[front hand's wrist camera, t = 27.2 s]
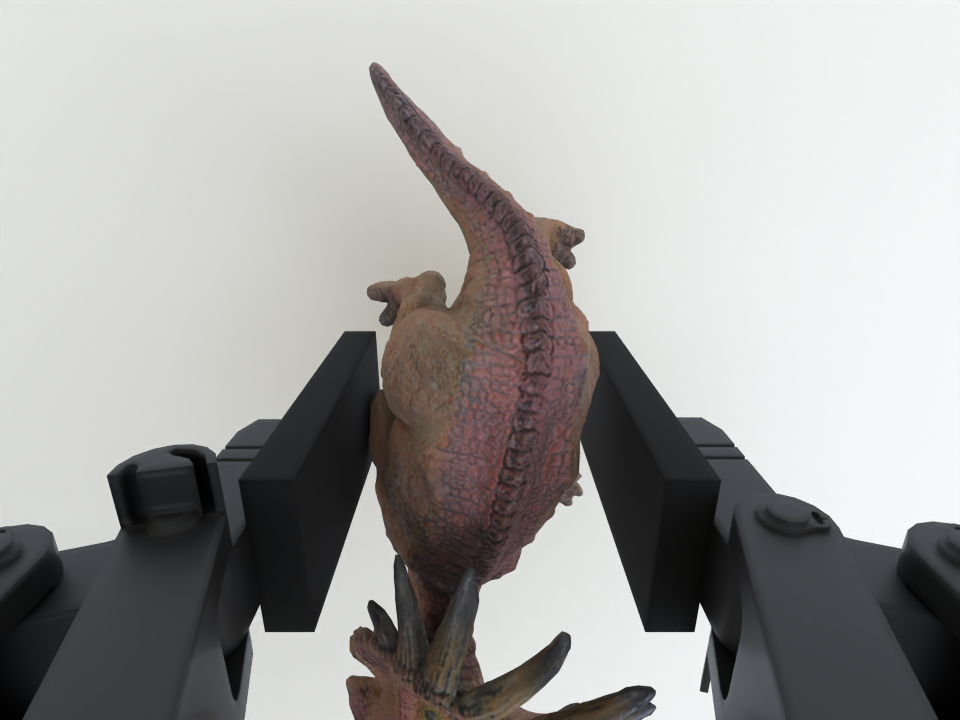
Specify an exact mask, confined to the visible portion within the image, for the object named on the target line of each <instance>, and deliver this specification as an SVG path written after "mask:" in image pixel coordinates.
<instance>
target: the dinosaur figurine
mask: <svg viewBox="0 0 960 720" xmlns="http://www.w3.org/2000/svg"><path fill="white" fill-rule="evenodd" d="M369 70H370V76H371V80H372V83H373V85H374V88H375V90H376V93H377V95H378V97H379V100H380V102H381V105H382V107H383V110H384V112H385V114H386V116H387V119H388V120H389V122H390V123H391V124H392V126H393V128H394V129H395V131H396V132H397V134H398V136H399V137H400V139H401V140H402V142H403V143H404V145H405V146H406V148H407V150H408V152H409V154H410V156H411V157H412V159H413V160H414V161H415V163H416V166H417V167H419V168H420V170H421V171H422V172H423V174H424V175H425V176H426V178H427V179H428V180H429V181H430V182H431V184H432V185H433V187H434V188H435V190H436V192H437V194H438V195H439V197H440V199H441V200H442V201H443V203H444V204H445V206H446V207H447V209H448V210H449V212H450V214H451V215H452V216H453V218H454V219H455V220H456V222H457V223H458V224H459V226H460V228H461V230H462V233H463V235H464V237H465V240H466V243H467V246H468V250H469V254H470V257H469V262H468V268H467V273H466V275H465V280H464V283H463V285H462V288H461V292H460V294H459V295H458V297H457V298H456V300H455V302H454V303H453V305H452V306H451V307H450V308H447V307H446V305H445V302H446V293H445V287H446V284H445V280H444V278H443V277H442V276H441V275H440V274H439V273H438V272H435V271H427V272H424V273H422V274H420V275H419V276H417V277H415V278H410V277H406V278H402V279H400V280H398V281H384V282H379V283H375V284H373V285H371V286H369V287H368V289H367V295H368V297H369V298H370V299H371V300H375V301H380V302H387V303H388V305H387V307H386V308H385V309H384V311H383V312H382V313H381V315H380V317H379V322H380V323H381V325H383V326H387V327H388V326H391V325H393V327H392V331H391V335H390V339H389V341H388V342H387V344H386V347H385V351H384V355H383V358H382V363H381V364H382V367H381V377H382V378H383V389H381V390H379V391H378V392H377V394H376V396H375V397H374V399H373V401H372V402H371V405H370V433H369V453H370V457H371V460H372V461H373V463H374V465H375V466H376V468H377V478H376V484H375V491H376V495H377V498H378V502H379V504H380V507H381V510H382V516H383V520H384V525H385V528H386V535H387V537H388V538H389V540H390V541H391V543H392V545H393V549H394V550H395V551H396V552H397V553H398V554H399V555H395V561H394V584H395V602H396V612H397V620H398V631H397V629H396V628H395V626H394V624H393V622H392V620H391V618H390V617H389V615H388V614H387V613H386V611H385V610H384V609H383V608H382V607H381V606H380V605H378V604H377V603H376V602H375V601H373V600H370V601H369V603H368V606H367V608H368V612H369V615H370V618H371V620H372V623H373V626H374V632H373V631H371V630H370V629H368V628H367V627H363V628H362V627H361V626H360V627H359V628H358V629H356V630H355V631H354V632H353V633H354V635H352V636H351V637H350V652H351V654H352V655H353V657H354V658H355V659H357V660H358V661H359V662H361V663H362V664H363V665H365V666H366V667H367V668H368V669H369V670H370V671H371V672H372V673H373V675H374V676H375V678H374V677H367V676H354V675H352V676H350V677H349V678H348V679H347V680H346V686H347V690H348V694H349V705H350V708H351V711H352V713H353V716H354V719H355V720H642V719H643V718H645V717H647V716H650V715H651V714H652V713H653V712H654V710H655V709H656V706H655V705H654V704H652V703H650V701H651V700H652V699H653V698H654V696H655V694H656V691H655V690H654V689H653V688H652V687H649V686H639V685H638V686H631V687H626V688H624V689H622V690H620V691H618V692H615V693H612V694H608V695H605V696H602V697H599V698H597V699H594V700H591V701H587V702H583V703H580V704H579V703H573V704H569V705H567V706H565V707H564V708H562V709H561V710H559V711H557V712H552V713H548V714H540V713H534V712H530V711H527V710H525V709H523V708H521V707H520V706H521V705H523V704H524V703H526V702H527V701H528V700H529V699H530V698H532V697H533V696H534V695H535V694H536V693H537V692H538V691H540V690H541V689H542V688H543V687H544V686H545V685H546V684H547V683H548V682H549V681H550V680H551V679H552V678H553V677H554V676H555V675H556V674H557V673H558V672H559V670H560V668H561V666H562V664H563V662H564V660H565V658H566V656H567V654H568V652H569V650H570V648H571V636H570V635H569V634H568V633H566V632H563V631H562V632H561V633H560V634H558V635H557V636H556V637H555V638H554V640H553V641H552V642H551V643H550V644H549V645H548V646H546V647H545V648H544V649H543V650H541V651H540V652H539V653H538V654H536V655H535V656H533V657H532V658H531V659H529V660H528V661H526V662H525V663H523V664H522V665H520V666H519V667H517V668H515V669H513V670H512V671H510V672H508V673H506V674H504V675H502V676H500V677H498V678H496V679H494V680H491V681H488V682H486V683H484V681H483V677H482V673H481V669H480V665H479V663H478V660H477V658H476V655H475V651H476V644H475V641H474V639H473V637H472V634H473V630H474V626H473V625H474V621H475V617H476V613H477V610H478V605H479V591H480V588H481V586H482V585H483V584H485V583H487V582H488V581H490V580H494V579H499V578H501V577H502V576H503V575H505V574H507V573H509V572H511V571H513V570H515V569H516V566H517V563H518V560H519V558H520V554H521V550H522V547H524V546H526V545H527V544H529V543H532V542H533V541H534V538H535V535H536V533H537V532H538V531H539V530H540V529H541V527H542V526H543V525H544V523H545V522H546V521H547V520H549V519H550V518H551V517H553V515H554V513H555V507H556V506H557V504H558V503H559V502H560V503H562V504H564V505H565V506H571V505H572V497H573V496H581V495H582V494H583V491H582V488H581V486H580V485H579V484H578V483H577V482H576V481H577V480H579V479H580V478H581V476H582V475H581V474H580V473H579V461H580V436H581V432H582V428H583V425H584V423H585V421H586V419H587V416H588V410H589V407H590V404H591V401H592V395H593V392H594V389H595V386H596V382H597V380H598V377H599V375H600V371H599V365H600V364H599V355H598V351H597V348H596V345H595V343H594V341H593V339H592V337H591V335H590V333H589V330H588V320H587V318H586V317H585V315H584V314H583V313H582V311H581V310H580V309H579V308H578V307H576V306H575V304H574V303H573V292H572V284H571V281H570V278H569V275H568V273H567V271H566V269H571V268H573V267H574V266H575V264H576V261H575V257H574V255H573V253H572V252H571V249H572V247H574V246H576V245H577V244H580V243H581V242H583V240H584V238H585V233H584V231H583V230H581V229H578V228H574V227H572V226H569V225H568V224H566V223H564V222H561V221H558V220H554V219H548V218H540V217H534V215H533V214H532V213H529V212H526V211H525V210H524V209H523V208H522V207H521V206H520V205H519V204H518V203H517V202H516V201H515V200H514V198H513V196H512V194H511V193H510V192H508V191H505V190H503V189H502V188H501V187H500V186H499V185H498V184H497V183H495V182H494V181H493V180H492V179H491V178H490V177H489V176H488V174H487V172H484V171H481V170H479V169H478V168H476V167H475V166H473V165H472V164H470V163H469V162H468V161H467V160H466V159H465V158H464V157H463V154H462V150H461V148H459V147H457V146H455V145H453V144H452V143H451V142H450V141H449V140H448V139H447V138H446V137H445V136H444V134H443V133H442V132H441V131H440V129H439V128H438V127H437V125H436V124H435V123H434V122H433V121H432V120H431V119H430V118H429V117H428V116H427V115H426V114H425V113H424V112H423V111H422V110H421V109H419V108H418V107H417V106H416V105H415V104H414V103H413V101H412V100H411V99H410V98H409V97H408V96H407V95H406V94H405V93H403V92H402V91H401V89H400V88H399V87H398V86H397V85H396V83H395V82H394V81H393V80H392V79H391V77H390V75H389V74H388V73H387V72H386V71H385V70H384V68H383V67H382V66H380V65H379V64H377V63H372V64H371V66H370V67H369ZM404 564H405V565H406V566H407V567H408V573H407V570H406V567H405V565H404Z"/></svg>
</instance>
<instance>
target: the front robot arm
mask: <svg viewBox="0 0 960 720" xmlns="http://www.w3.org/2000/svg"><path fill="white" fill-rule="evenodd" d="M589 333H590V335H591V337H592V339H593V341H594V343H595V345H596V348H597V351H598V355H599V364H600V365H599V371H600V375H599V377H598V380H597V382H596V386H595V389H594V392H593V395H592V401H591V404H590V407H589V410H588V416H587V419H586V421H585V423H584V425H583V428H582V432H581V436H580V440H581V443H582V446H583V449H584V452H585V455H586V458H587V461H588V464H589V467H590V470H591V473H592V476H593V479H594V482H595V485H596V488H597V491H598V494H599V497H600V499H601V502H602V505H603V508H604V511H605V514H606V517H607V520H608V523H609V526H610V529H611V532H612V535H613V538H614V541H615V544H616V547H617V550H618V553H619V556H620V559H621V562H622V565H623V568H624V571H625V574H626V576H627V579H628V582H629V585H630V588H631V591H632V594H633V597H634V600H635V603H636V606H637V609H638V612H639V615H640V618H641V621H642V624H643V627H644V630H645V632H695V626H696V620H697V615H698V609H699V603H700V604H701V606H702V608H703V610H704V612H705V614H706V616H707V618H708V620H709V622H710V624H711V632H710V637H709V643H708V648H707V653H706V658H705V664H704V669H703V674H702V680H701V687H700V691H701V692H706V693H708V689H709V684H710V680H711V686H712V694H713V702H714V709H715V717H716V720H960V525H959V524H950V523H941V522H925V523H917V524H915V525H914V526H913V527H911V528H910V529H909V530H908V531H907V534H906V537H905V540H904V543H903V546H902V549H900V548H895V547H890V546H884V545H879V544H874V543H869V542H864V541H859V540H854V539H850V538H846V537H844V536H843V534H842V532H841V531H840V529H839V527H838V526H837V525H836V523H835V522H834V521H833V520H832V519H831V517H830V516H829V515H827V514H826V513H824V512H823V511H821V510H820V509H818V508H817V507H815V506H814V505H811V504H809V503H806V502H804V501H802V500H799V499H797V498H794V497H790V496H785V495H781V494H776V493H775V492H774V491H773V489H772V488H771V487H770V486H769V485H768V483H767V482H766V481H765V480H764V479H763V477H762V476H761V475H760V474H759V473H758V472H757V470H756V469H755V468H754V467H753V466H752V464H751V463H750V462H749V461H748V460H745V456H744V455H743V454H742V453H741V451H740V450H739V449H738V448H737V447H735V446H734V443H733V442H732V441H731V440H730V438H729V437H728V436H727V435H726V434H725V433H724V431H723V430H722V429H720V428H718V427H717V426H715V425H713V424H711V423H710V422H708V421H706V420H705V419H703V418H677V417H676V416H675V415H674V413H673V412H672V410H671V409H670V408H669V406H668V405H667V403H666V402H665V401H664V399H663V398H662V396H661V395H660V394H659V392H658V391H657V390H656V388H655V387H654V385H653V384H652V383H651V381H650V380H649V378H648V377H647V376H646V374H645V373H644V371H643V370H642V369H641V367H640V366H639V364H638V363H637V362H636V360H635V359H634V357H633V356H632V355H631V353H630V352H629V350H628V349H627V348H626V346H625V345H624V343H623V342H622V341H621V339H620V338H619V336H618V335H617V334H616V332H615V331H589ZM379 390H380V387H379V373H378V358H377V344H376V331H345V332H344V333H343V335H342V336H341V337H340V339H339V340H338V341H337V343H336V344H335V346H334V347H333V348H332V350H331V351H330V353H329V354H328V355H327V357H326V358H325V360H324V361H323V362H322V364H321V365H320V367H319V368H318V369H317V371H316V372H315V374H314V375H313V376H312V378H311V379H310V381H309V382H308V383H307V385H306V386H305V388H304V389H303V390H302V392H301V393H300V395H299V396H298V397H297V399H296V400H295V401H294V403H293V404H292V406H291V407H290V408H289V410H288V411H287V413H286V414H285V415H284V417H283V418H282V419H258V420H257V421H255V422H253V423H252V424H250V425H248V426H247V427H245V428H243V429H242V430H240V431H238V432H237V433H236V434H235V436H234V437H233V438H232V439H231V440H230V442H229V443H228V444H227V445H226V446H225V449H223V450H222V451H221V452H220V453H219V455H218V456H217V457H216V454H215V453H214V452H213V451H211V450H210V449H209V448H207V447H203V446H198V445H193V444H188V445H171V446H166V447H161V448H156V449H152V450H149V451H146V452H144V453H141V454H138V455H135V456H133V457H131V458H129V459H128V460H126V461H124V462H122V463H121V464H119V465H117V466H116V467H115V468H114V469H113V470H112V471H111V472H110V473H109V474H108V475H107V478H108V482H109V486H110V489H111V493H112V497H113V500H114V504H115V508H116V511H117V515H118V519H119V522H120V526H121V530H120V532H119V533H118V535H117V537H116V539H115V540H112V541H108V542H104V543H99V544H94V545H89V546H84V547H79V548H74V549H68V550H63V551H58V548H57V545H56V542H55V539H54V536H53V533H52V532H51V531H49V530H48V529H47V528H45V527H44V526H37V525H30V524H26V525H17V526H6V527H1V528H0V720H244V718H245V711H246V703H247V695H248V688H249V680H250V672H251V665H252V657H253V650H252V643H251V637H250V632H249V627H250V624H251V622H252V620H253V618H254V616H255V614H256V612H257V610H258V608H259V606H261V611H262V617H263V623H264V628H265V632H315V629H316V626H317V623H318V620H319V617H320V614H321V611H322V608H323V605H324V602H325V599H326V596H327V593H328V590H329V587H330V584H331V581H332V578H333V575H334V572H335V569H336V566H337V563H338V561H339V558H340V555H341V552H342V549H343V546H344V543H345V540H346V537H347V534H348V531H349V528H350V525H351V522H352V519H353V516H354V513H355V510H356V507H357V504H358V501H359V498H360V495H361V492H362V489H363V487H364V484H365V481H366V478H367V475H368V472H369V469H370V466H371V463H372V460H371V457H370V453H369V433H370V405H371V402H372V401H373V399H374V397H375V396H376V394H377V392H378V391H379Z"/></svg>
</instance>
